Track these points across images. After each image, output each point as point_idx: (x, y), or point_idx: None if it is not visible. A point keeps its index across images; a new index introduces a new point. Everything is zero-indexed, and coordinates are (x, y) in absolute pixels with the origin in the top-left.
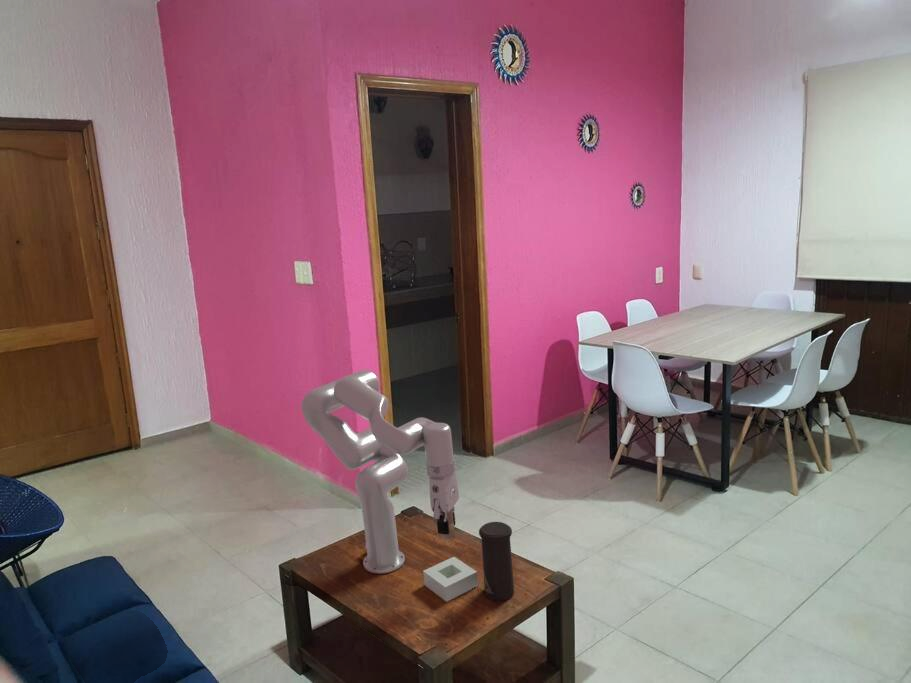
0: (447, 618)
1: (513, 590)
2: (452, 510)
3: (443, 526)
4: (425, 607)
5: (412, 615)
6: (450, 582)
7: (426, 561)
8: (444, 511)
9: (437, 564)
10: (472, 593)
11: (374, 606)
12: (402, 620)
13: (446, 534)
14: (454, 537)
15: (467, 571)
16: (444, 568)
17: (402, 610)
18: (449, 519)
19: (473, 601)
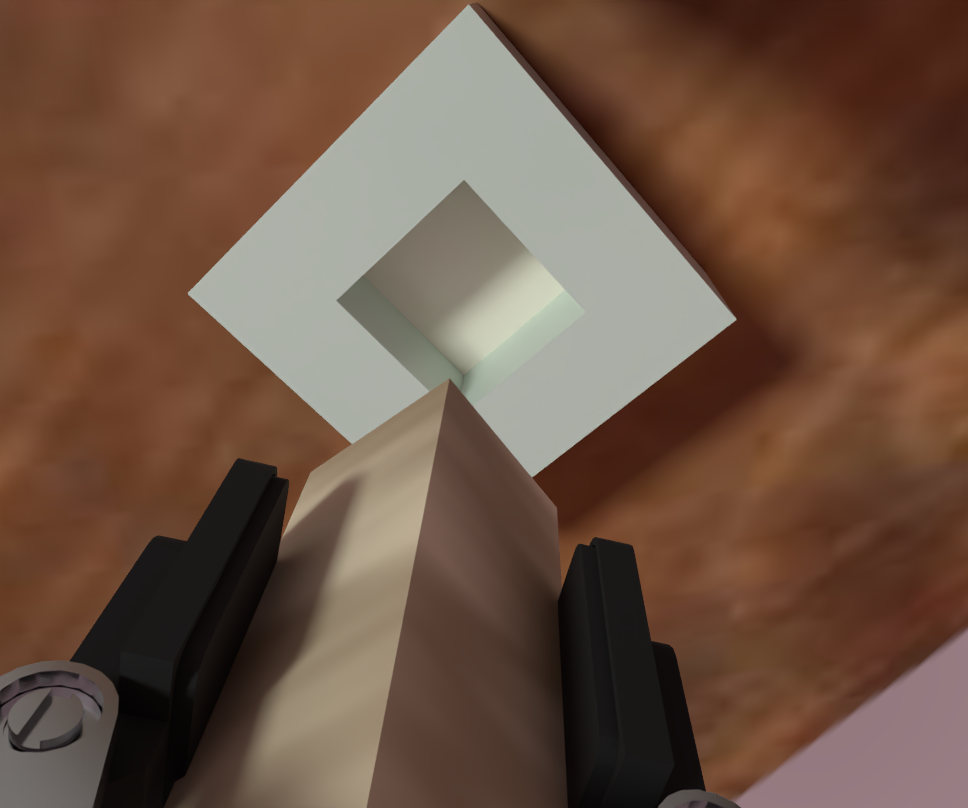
0: (935, 240)
1: None
2: (112, 730)
3: (684, 751)
4: (758, 424)
5: (843, 498)
6: (658, 278)
7: (135, 493)
8: None
9: (344, 432)
10: (595, 50)
11: (703, 726)
12: (890, 551)
13: (545, 559)
14: (457, 392)
15: (463, 120)
16: (401, 361)
17: (772, 567)
18: (471, 701)
19: (723, 28)
